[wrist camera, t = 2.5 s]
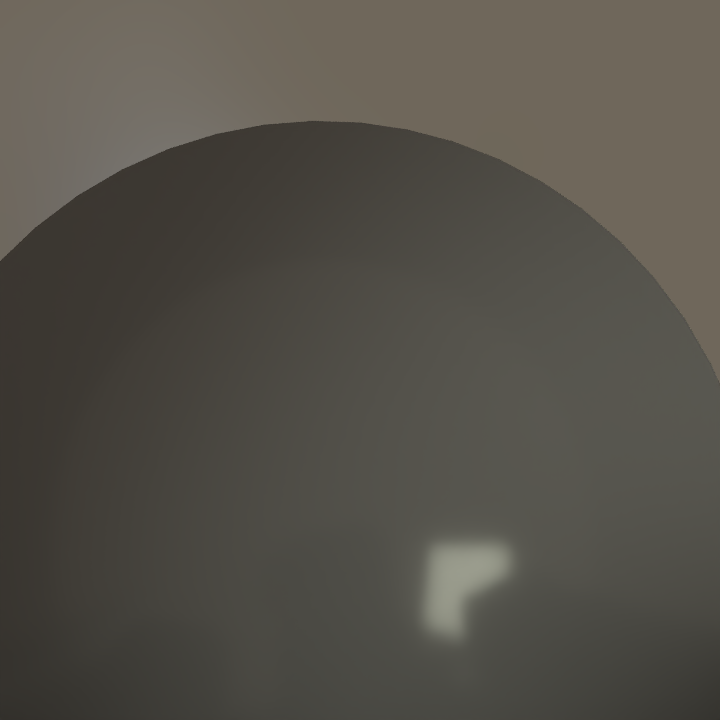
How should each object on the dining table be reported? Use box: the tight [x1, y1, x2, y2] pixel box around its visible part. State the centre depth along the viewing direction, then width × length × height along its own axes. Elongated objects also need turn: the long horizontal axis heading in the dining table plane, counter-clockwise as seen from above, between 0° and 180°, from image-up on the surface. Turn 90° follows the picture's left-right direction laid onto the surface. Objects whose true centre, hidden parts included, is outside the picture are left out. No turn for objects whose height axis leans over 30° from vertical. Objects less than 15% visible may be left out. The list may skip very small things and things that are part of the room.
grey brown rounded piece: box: [0, 121, 720, 720], centre depth 11 cm, size 7×7×12 cm
